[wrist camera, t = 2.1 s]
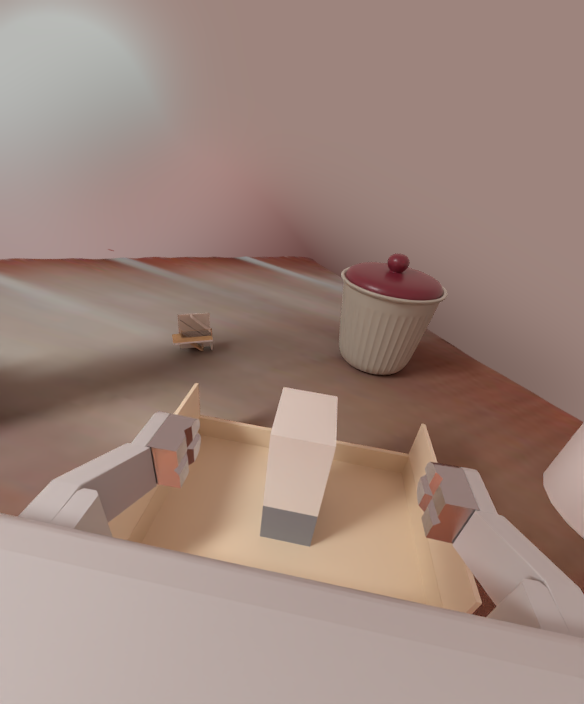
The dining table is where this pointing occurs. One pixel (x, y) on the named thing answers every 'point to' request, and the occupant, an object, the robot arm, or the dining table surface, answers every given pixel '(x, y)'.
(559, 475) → the canister
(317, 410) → the box
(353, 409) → the dining table surface
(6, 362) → the dining table surface
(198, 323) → the architectural model
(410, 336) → the canister
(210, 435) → the beige open box
